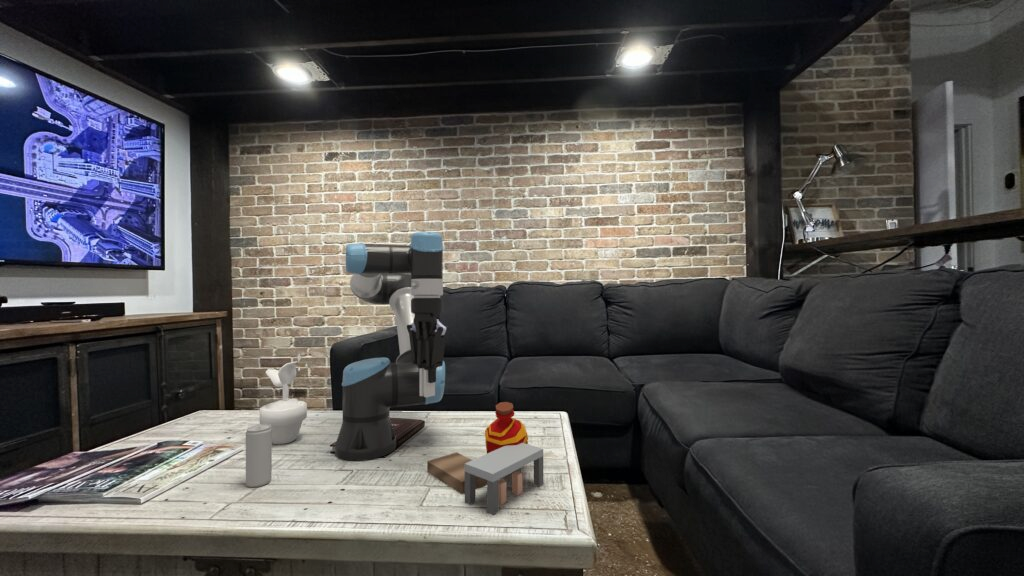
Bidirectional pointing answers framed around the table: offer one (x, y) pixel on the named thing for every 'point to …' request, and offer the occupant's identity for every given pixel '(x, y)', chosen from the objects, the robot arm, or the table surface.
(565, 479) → the table surface
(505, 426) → the potion bottle
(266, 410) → the potted plant
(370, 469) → the table surface
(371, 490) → the table surface
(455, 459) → the panel
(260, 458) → the beverage can
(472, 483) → the shelf
